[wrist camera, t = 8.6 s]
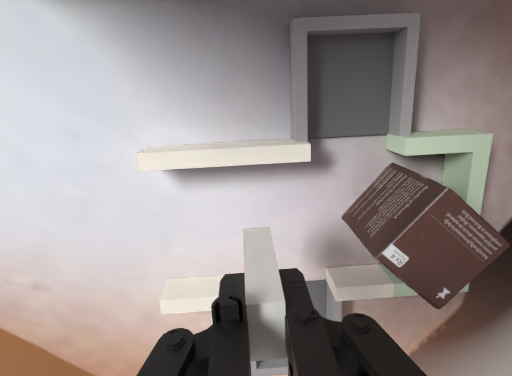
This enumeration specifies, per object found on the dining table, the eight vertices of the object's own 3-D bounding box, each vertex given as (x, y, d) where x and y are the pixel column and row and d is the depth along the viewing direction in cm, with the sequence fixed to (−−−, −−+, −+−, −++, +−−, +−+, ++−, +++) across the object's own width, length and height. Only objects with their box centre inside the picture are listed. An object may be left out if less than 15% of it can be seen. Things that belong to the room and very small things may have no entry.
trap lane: (132, 31, 21) (115, 21, 18) (478, 16, 22) (513, 4, 19) (180, 364, 29) (173, 393, 26) (434, 344, 30) (455, 370, 27)
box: (440, 206, 26) (514, 246, 19) (388, 257, 27) (439, 313, 20) (390, 159, 25) (450, 184, 18) (337, 215, 26) (374, 260, 19)
